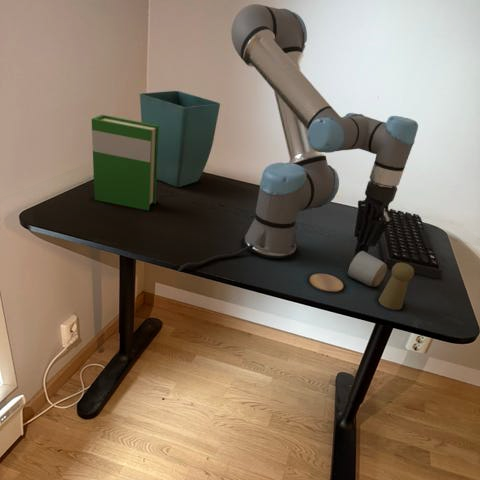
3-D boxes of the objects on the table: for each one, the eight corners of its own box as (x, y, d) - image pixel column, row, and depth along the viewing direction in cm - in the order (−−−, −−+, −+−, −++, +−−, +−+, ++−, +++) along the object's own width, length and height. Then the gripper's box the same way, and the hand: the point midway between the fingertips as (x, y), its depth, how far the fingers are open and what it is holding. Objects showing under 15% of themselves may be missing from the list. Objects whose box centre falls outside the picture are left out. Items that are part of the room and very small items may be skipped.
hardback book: (155, 202, 148) (159, 125, 134) (148, 210, 142) (151, 130, 128) (103, 192, 149) (102, 114, 135) (94, 199, 143) (91, 118, 129)
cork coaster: (319, 293, 115) (319, 291, 114) (304, 275, 121) (304, 274, 121) (349, 291, 118) (349, 290, 117) (332, 274, 124) (333, 272, 124)
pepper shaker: (403, 302, 117) (419, 264, 111) (400, 312, 113) (416, 274, 106) (380, 294, 119) (394, 257, 113) (376, 304, 114) (391, 266, 108)
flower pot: (178, 193, 158) (185, 106, 142) (136, 177, 166) (138, 92, 150) (212, 183, 173) (221, 103, 157) (172, 168, 180) (177, 90, 164)
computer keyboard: (438, 278, 132) (443, 267, 130) (384, 266, 133) (389, 255, 131) (417, 223, 169) (421, 213, 167) (375, 214, 170) (379, 205, 168)
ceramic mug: (371, 292, 119) (381, 266, 115) (344, 279, 123) (352, 254, 118) (387, 280, 126) (397, 256, 122) (361, 269, 130) (370, 244, 126)
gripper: (410, 192, 112) (380, 275, 125) (381, 175, 121) (356, 253, 135) (385, 192, 109) (357, 276, 122) (358, 174, 119) (334, 254, 132)
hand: (356, 264), depth 128 cm, fingers closed
